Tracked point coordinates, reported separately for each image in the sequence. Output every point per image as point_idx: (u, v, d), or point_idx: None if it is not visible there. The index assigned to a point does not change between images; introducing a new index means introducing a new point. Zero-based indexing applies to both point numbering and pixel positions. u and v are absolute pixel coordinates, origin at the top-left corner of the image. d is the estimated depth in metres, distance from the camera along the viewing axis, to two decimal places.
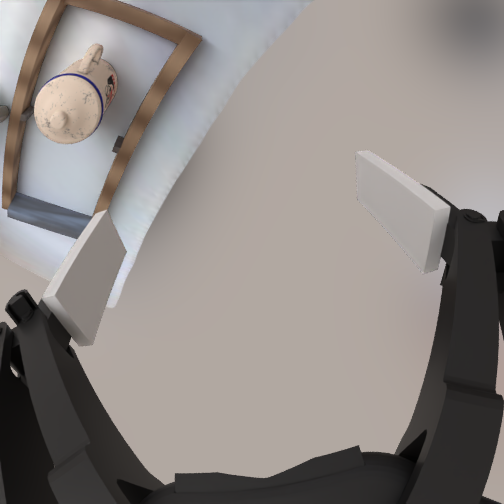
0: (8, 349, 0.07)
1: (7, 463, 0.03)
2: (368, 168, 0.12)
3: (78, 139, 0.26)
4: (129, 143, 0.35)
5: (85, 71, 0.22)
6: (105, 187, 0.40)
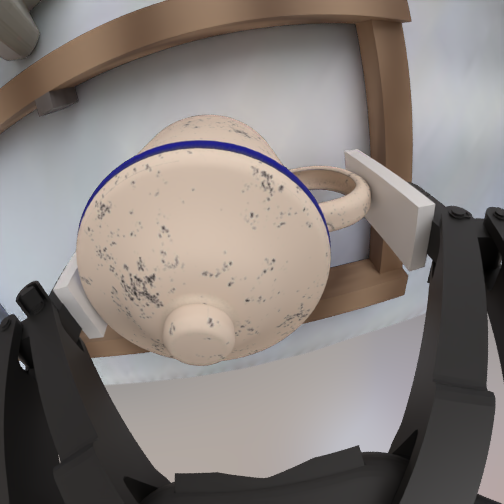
0: (17, 342, 0.07)
1: (11, 459, 0.03)
2: (357, 166, 0.12)
3: (158, 352, 0.11)
4: None
5: None
6: None
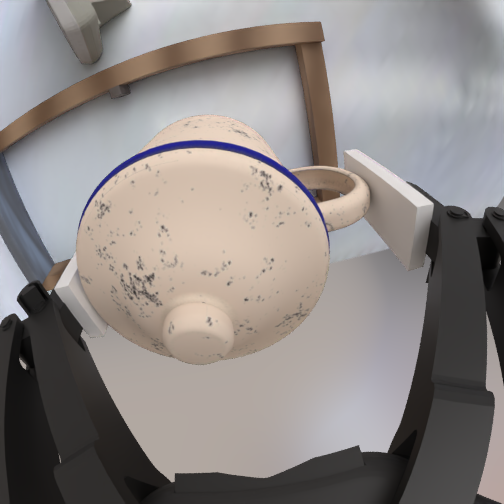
0: (18, 342, 0.07)
1: (12, 458, 0.03)
2: (356, 166, 0.12)
3: (158, 352, 0.11)
4: None
5: None
6: None
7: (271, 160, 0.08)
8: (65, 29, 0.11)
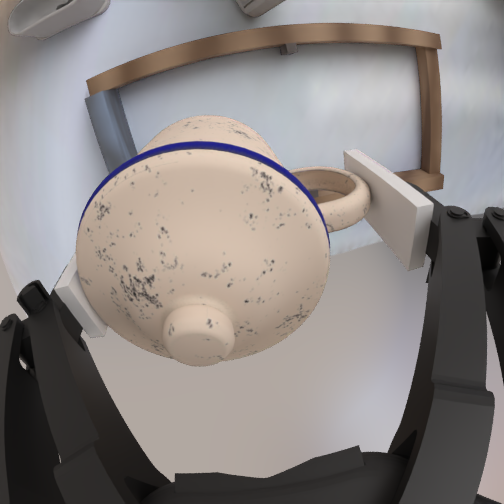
0: (18, 342, 0.07)
1: (12, 458, 0.03)
2: (356, 166, 0.12)
3: (158, 353, 0.11)
4: None
5: None
6: None
7: (271, 161, 0.08)
8: None
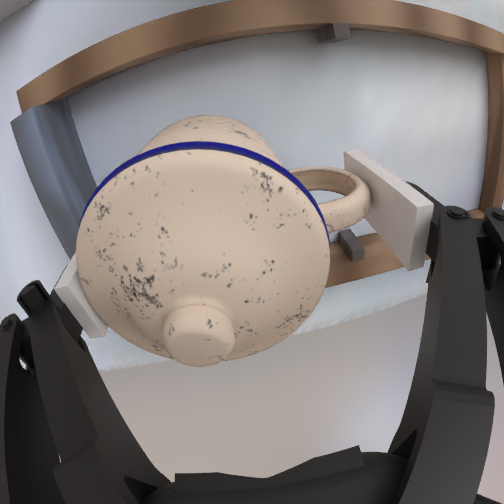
0: (18, 342, 0.07)
1: (12, 458, 0.03)
2: (356, 166, 0.12)
3: (158, 353, 0.11)
4: (377, 264, 0.22)
5: None
6: None
7: (271, 161, 0.08)
8: None
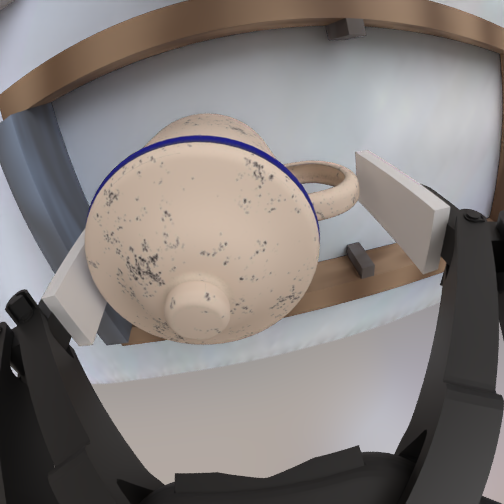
0: (8, 349, 0.07)
1: (7, 463, 0.03)
2: (368, 168, 0.12)
3: (159, 335, 0.12)
4: (387, 280, 0.20)
5: None
6: None
7: (263, 153, 0.09)
8: None
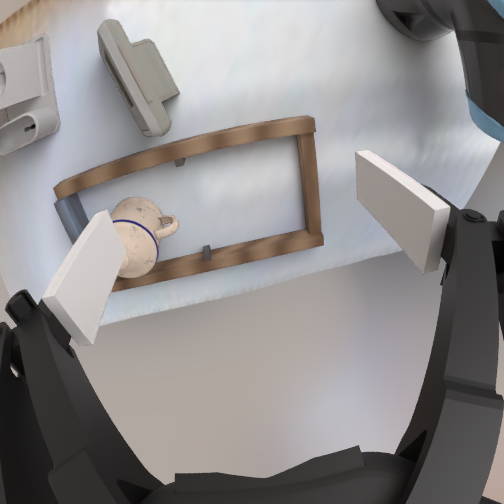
0: (8, 349, 0.07)
1: (7, 463, 0.03)
2: (368, 168, 0.12)
3: None
4: (220, 263, 0.46)
5: (158, 238, 0.37)
6: (165, 272, 0.46)
7: (136, 223, 0.34)
8: (152, 132, 0.27)
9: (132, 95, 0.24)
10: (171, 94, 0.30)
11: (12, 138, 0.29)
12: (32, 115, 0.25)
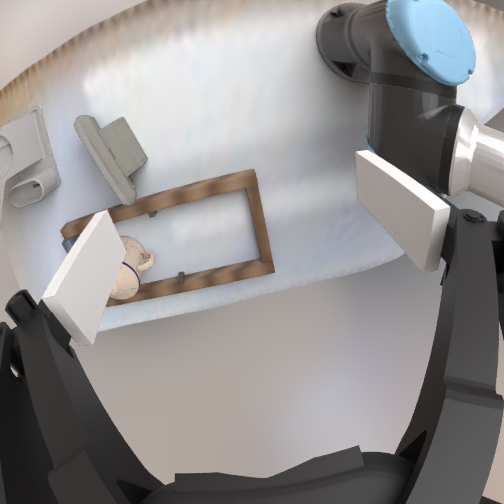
0: (8, 349, 0.07)
1: (7, 463, 0.03)
2: (368, 168, 0.12)
3: (110, 296, 0.49)
4: (191, 286, 0.58)
5: (139, 271, 0.49)
6: (150, 292, 0.58)
7: (122, 262, 0.46)
8: (123, 203, 0.38)
9: (105, 178, 0.36)
10: (138, 166, 0.41)
11: (24, 191, 0.41)
12: (38, 180, 0.38)
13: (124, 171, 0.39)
